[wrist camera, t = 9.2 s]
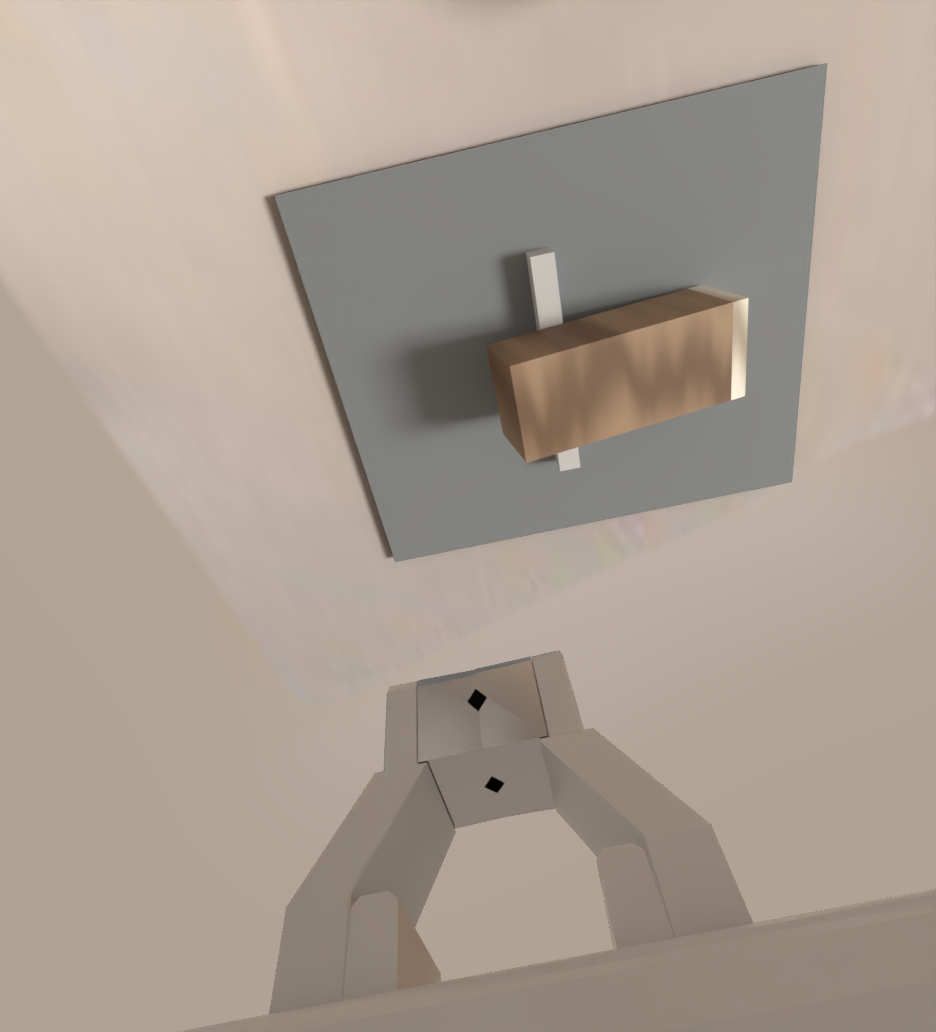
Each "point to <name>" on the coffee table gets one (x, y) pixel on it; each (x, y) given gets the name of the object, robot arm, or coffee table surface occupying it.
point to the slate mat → (563, 303)
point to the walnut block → (620, 370)
